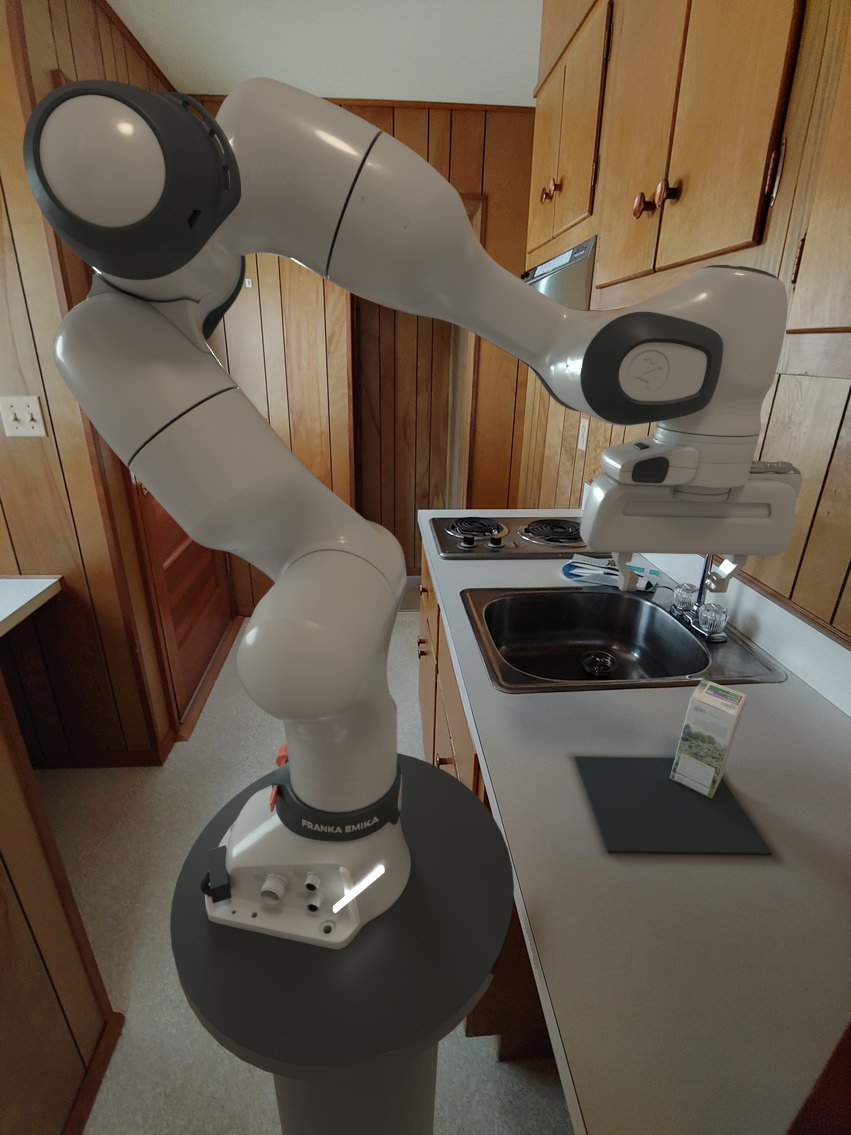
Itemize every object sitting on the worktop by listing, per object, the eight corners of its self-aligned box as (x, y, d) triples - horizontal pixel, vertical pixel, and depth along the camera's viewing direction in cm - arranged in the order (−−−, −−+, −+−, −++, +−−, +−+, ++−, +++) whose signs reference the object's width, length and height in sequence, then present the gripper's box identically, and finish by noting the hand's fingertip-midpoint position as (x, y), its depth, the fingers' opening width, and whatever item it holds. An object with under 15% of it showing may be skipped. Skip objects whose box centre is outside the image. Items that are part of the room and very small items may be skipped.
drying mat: (607, 852, 67) (608, 850, 67) (574, 758, 81) (574, 756, 81) (771, 855, 67) (772, 852, 67) (708, 760, 82) (709, 758, 81)
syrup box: (722, 777, 78) (749, 692, 72) (711, 801, 74) (738, 714, 68) (681, 757, 81) (703, 675, 76) (668, 780, 77) (690, 695, 71)
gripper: (787, 455, 56) (751, 579, 61) (585, 450, 55) (568, 575, 61) (829, 469, 50) (786, 605, 55) (604, 464, 50) (583, 601, 55)
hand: (670, 589), depth 58 cm, fingers open, 8 cm apart
